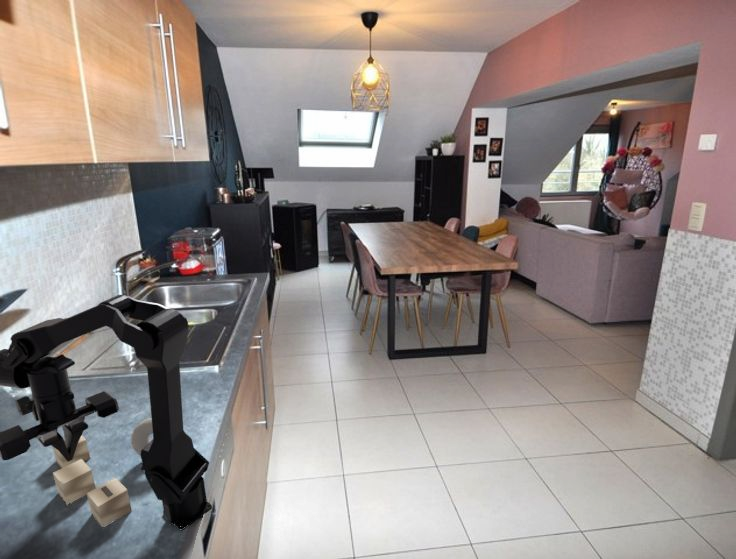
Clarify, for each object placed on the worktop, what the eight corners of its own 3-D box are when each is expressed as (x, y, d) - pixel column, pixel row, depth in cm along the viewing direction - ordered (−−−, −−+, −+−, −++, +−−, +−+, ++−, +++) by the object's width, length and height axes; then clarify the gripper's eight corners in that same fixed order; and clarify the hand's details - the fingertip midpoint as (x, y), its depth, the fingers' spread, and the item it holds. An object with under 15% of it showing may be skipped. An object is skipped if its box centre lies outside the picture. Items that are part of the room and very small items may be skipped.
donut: (185, 448, 98) (179, 410, 95) (183, 458, 95) (176, 419, 92) (137, 455, 95) (129, 417, 93) (133, 466, 92) (125, 426, 89)
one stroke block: (120, 498, 84) (115, 477, 82) (131, 511, 81) (127, 489, 80) (91, 515, 80) (86, 492, 79) (103, 528, 77) (97, 506, 76)
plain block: (86, 478, 89) (81, 458, 88) (96, 490, 86) (91, 469, 85) (58, 493, 85) (52, 472, 84) (67, 505, 82) (62, 484, 81)
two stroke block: (81, 449, 98) (77, 430, 96) (90, 458, 95) (85, 439, 93) (56, 461, 94) (50, 441, 92) (64, 471, 91) (59, 451, 90)
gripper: (90, 357, 91) (103, 421, 95) (-26, 396, 77) (-3, 468, 81) (113, 374, 84) (126, 441, 89) (-9, 419, 70) (14, 497, 74)
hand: (69, 459), depth 83 cm, fingers closed
